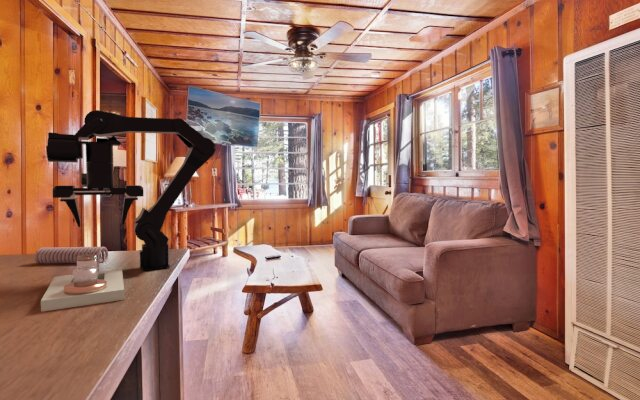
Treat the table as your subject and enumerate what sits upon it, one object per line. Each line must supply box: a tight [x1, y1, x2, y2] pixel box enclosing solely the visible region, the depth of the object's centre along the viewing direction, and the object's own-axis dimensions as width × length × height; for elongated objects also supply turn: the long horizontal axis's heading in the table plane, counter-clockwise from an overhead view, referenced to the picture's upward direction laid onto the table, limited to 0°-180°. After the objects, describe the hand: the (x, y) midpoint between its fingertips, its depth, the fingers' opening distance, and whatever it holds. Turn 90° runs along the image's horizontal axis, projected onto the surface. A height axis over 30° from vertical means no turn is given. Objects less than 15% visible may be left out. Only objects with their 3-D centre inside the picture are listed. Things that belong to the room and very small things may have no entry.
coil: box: [34, 246, 109, 265], centre depth 100 cm, size 5×5×18 cm
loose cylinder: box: [76, 254, 100, 279], centre depth 77 cm, size 4×4×7 cm
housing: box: [40, 268, 125, 312], centre depth 74 cm, size 13×18×2 cm
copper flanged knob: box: [64, 267, 107, 295], centre depth 69 cm, size 7×7×4 cm
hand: (101, 225), depth 88 cm, fingers open, 9 cm apart
